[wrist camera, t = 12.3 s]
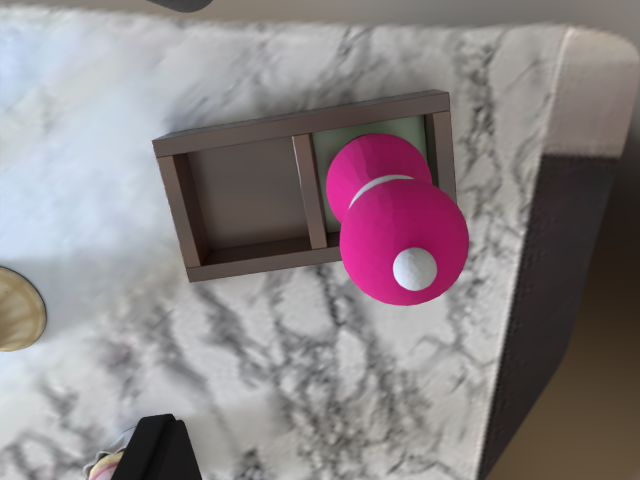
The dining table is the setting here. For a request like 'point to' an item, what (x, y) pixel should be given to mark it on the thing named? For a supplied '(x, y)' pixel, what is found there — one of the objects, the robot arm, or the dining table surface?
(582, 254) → the dining table surface
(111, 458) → the cupcake
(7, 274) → the hand bell
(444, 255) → the pepper mill
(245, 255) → the holder
